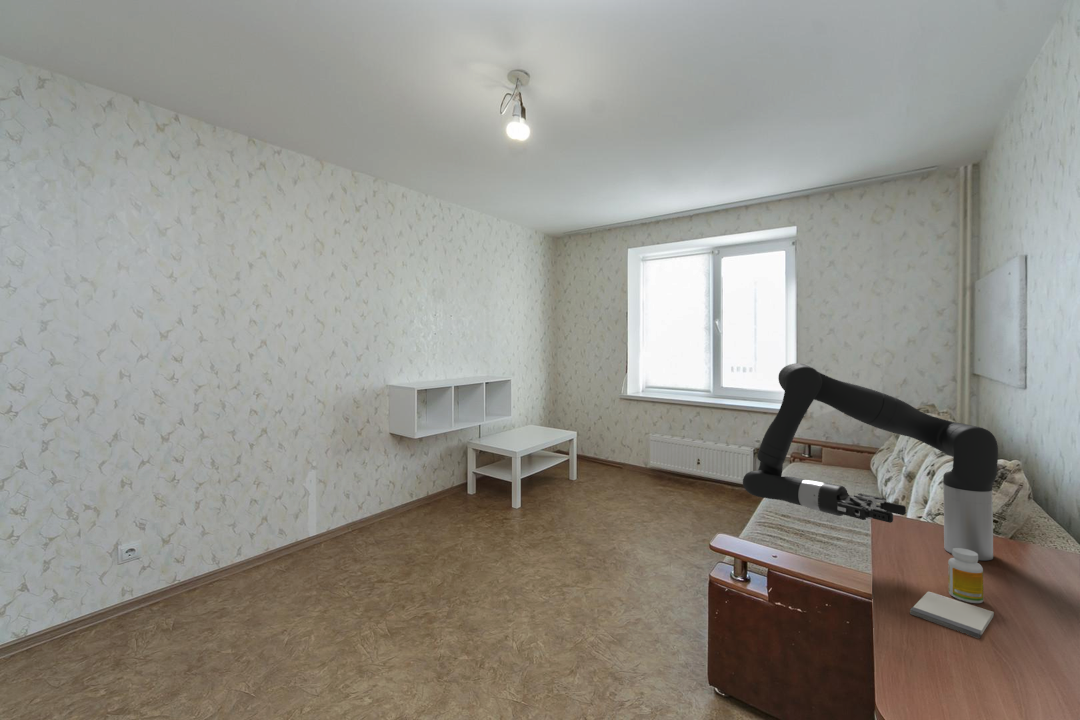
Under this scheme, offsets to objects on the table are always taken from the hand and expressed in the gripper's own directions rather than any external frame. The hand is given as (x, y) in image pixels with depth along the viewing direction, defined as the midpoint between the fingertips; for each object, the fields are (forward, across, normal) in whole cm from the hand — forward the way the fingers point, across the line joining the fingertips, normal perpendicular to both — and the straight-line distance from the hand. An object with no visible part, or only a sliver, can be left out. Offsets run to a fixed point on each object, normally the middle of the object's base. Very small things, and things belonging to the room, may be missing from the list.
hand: (899, 514), depth 105 cm
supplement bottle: (+11, 0, +15) cm, 19 cm away
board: (+11, -11, +15) cm, 21 cm away
